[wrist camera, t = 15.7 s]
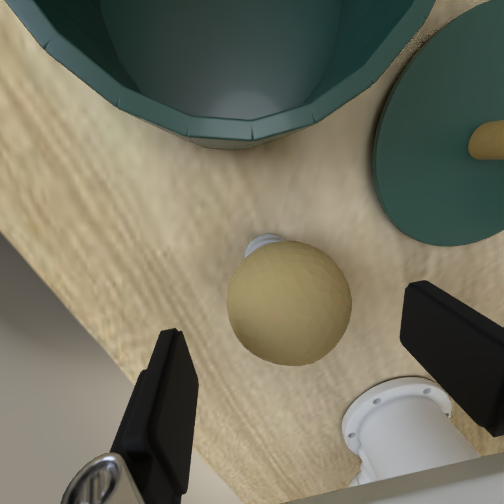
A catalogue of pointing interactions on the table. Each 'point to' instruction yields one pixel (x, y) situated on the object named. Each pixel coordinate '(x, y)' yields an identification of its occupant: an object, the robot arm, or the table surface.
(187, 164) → the table surface
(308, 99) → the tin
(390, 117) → the green pot lid
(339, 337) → the light bulb
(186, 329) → the table surface
